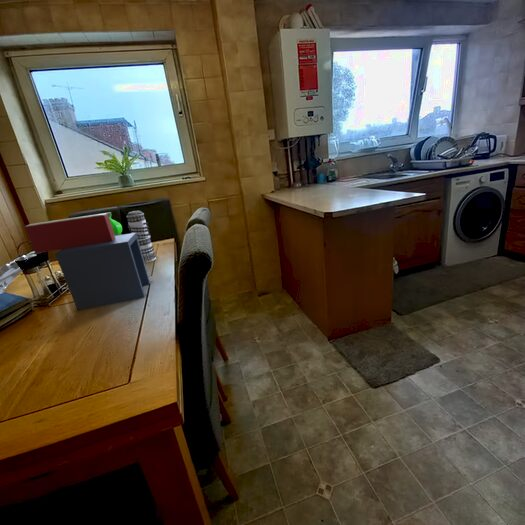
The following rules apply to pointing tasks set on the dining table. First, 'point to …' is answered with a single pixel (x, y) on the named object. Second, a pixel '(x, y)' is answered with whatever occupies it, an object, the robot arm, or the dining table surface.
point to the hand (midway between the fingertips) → (17, 261)
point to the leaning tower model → (141, 234)
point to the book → (70, 232)
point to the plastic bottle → (115, 225)
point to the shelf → (104, 271)
